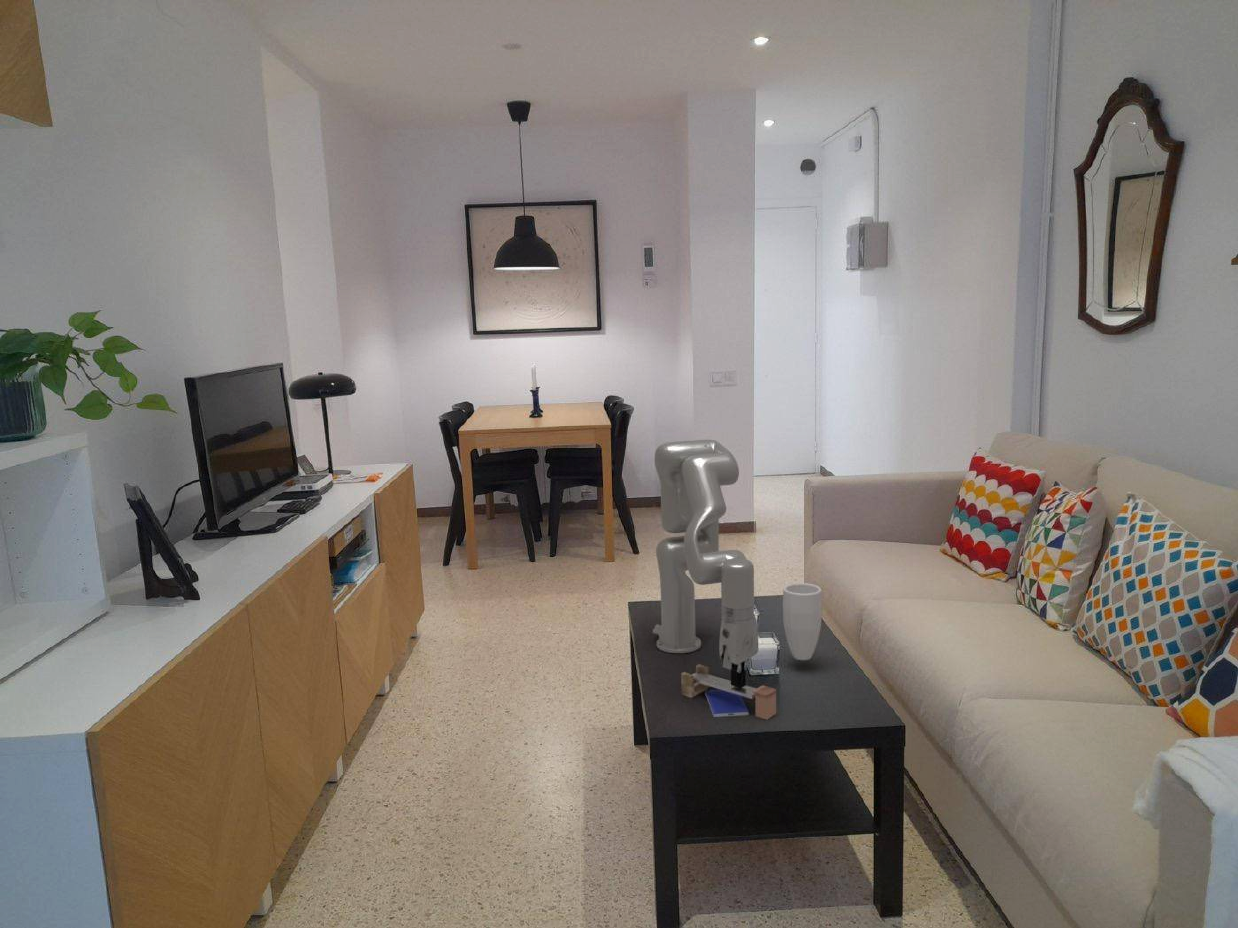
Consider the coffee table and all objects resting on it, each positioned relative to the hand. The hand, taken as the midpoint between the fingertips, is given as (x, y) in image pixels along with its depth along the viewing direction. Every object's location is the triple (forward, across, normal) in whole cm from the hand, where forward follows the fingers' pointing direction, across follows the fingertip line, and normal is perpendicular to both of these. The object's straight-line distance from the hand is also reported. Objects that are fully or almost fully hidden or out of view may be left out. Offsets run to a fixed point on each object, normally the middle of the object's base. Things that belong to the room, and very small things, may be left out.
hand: (738, 685), depth 197 cm
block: (+5, 0, -8) cm, 9 cm away
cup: (+5, +29, 0) cm, 29 cm away
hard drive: (+6, -1, +3) cm, 7 cm away
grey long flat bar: (+2, 0, +4) cm, 4 cm away
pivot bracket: (+5, 0, +13) cm, 14 cm away
